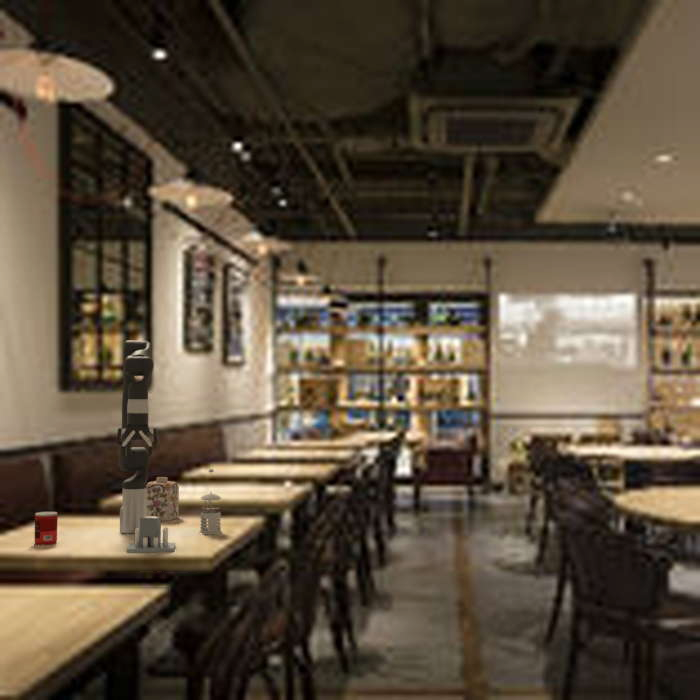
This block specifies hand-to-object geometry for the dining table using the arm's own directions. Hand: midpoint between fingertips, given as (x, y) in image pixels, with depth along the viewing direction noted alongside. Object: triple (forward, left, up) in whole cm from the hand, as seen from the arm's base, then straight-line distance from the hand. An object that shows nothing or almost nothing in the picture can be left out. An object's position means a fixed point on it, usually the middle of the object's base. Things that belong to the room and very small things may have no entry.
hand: (137, 456), depth 344 cm
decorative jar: (-26, +64, -32) cm, 76 cm away
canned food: (-34, -6, -32) cm, 47 cm away
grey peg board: (+8, -3, -32) cm, 33 cm away
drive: (+8, -3, -31) cm, 32 cm away
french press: (+10, +38, -32) cm, 51 cm away
